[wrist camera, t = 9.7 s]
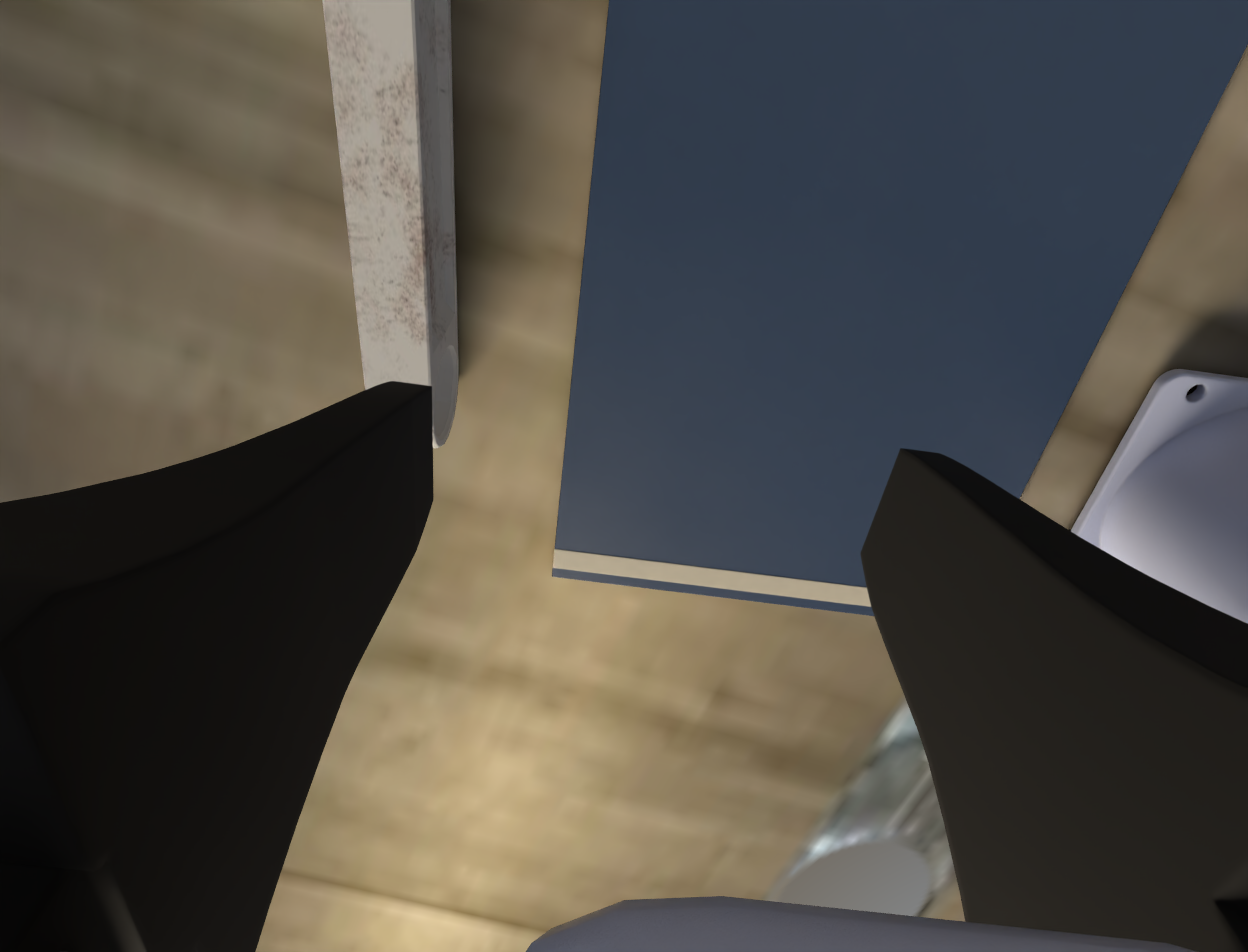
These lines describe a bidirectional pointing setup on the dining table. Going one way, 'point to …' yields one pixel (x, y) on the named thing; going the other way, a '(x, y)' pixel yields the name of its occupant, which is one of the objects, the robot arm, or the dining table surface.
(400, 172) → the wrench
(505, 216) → the dining table surface
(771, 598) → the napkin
